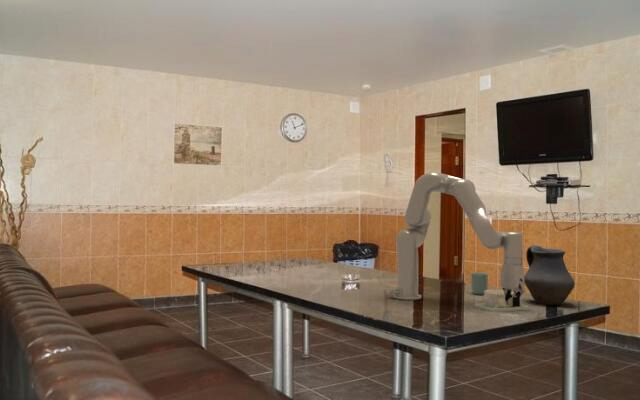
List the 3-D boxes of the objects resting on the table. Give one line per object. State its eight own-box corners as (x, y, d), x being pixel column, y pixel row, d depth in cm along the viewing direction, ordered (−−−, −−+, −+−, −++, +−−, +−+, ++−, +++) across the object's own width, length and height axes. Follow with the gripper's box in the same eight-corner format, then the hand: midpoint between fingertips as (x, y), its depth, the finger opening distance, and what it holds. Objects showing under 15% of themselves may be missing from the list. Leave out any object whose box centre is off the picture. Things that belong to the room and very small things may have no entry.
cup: (488, 295, 253) (488, 274, 253) (471, 295, 255) (471, 274, 255) (486, 293, 261) (487, 272, 261) (470, 292, 262) (470, 272, 262)
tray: (493, 313, 212) (493, 309, 212) (474, 307, 224) (474, 303, 224) (529, 310, 218) (529, 306, 218) (508, 305, 230) (508, 301, 230)
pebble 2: (500, 309, 218) (500, 299, 218) (494, 307, 222) (494, 297, 222) (508, 308, 220) (508, 298, 220) (502, 306, 223) (502, 297, 223)
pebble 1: (489, 309, 216) (489, 299, 217) (483, 307, 220) (483, 298, 220) (497, 309, 218) (497, 299, 218) (491, 307, 222) (491, 297, 222)
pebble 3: (511, 308, 220) (511, 298, 220) (505, 306, 224) (505, 297, 224) (519, 307, 222) (519, 298, 222) (513, 306, 225) (513, 296, 225)
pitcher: (551, 309, 221) (552, 249, 221) (510, 301, 240) (511, 245, 240) (584, 305, 230) (584, 247, 230) (542, 297, 249) (543, 244, 250)
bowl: (496, 305, 228) (496, 295, 228) (478, 300, 240) (478, 290, 240) (520, 304, 232) (520, 293, 232) (501, 299, 244) (501, 289, 244)
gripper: (492, 259, 230) (492, 302, 229) (519, 263, 214) (518, 309, 214) (506, 259, 232) (506, 301, 232) (534, 263, 216) (533, 308, 216)
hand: (512, 305), depth 223 cm, fingers closed on pebble 3, 4 cm apart
